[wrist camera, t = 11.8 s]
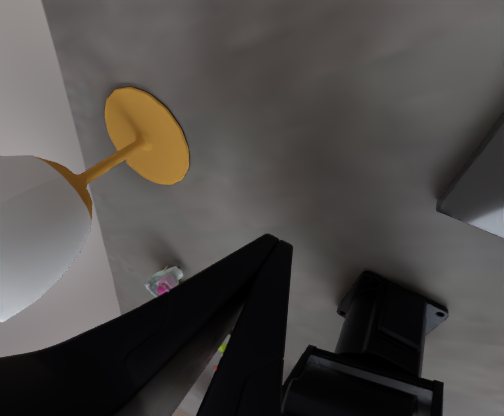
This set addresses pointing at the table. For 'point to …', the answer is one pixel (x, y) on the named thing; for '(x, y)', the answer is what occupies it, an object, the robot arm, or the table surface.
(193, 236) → the table surface
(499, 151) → the hob
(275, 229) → the table surface
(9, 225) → the cup
